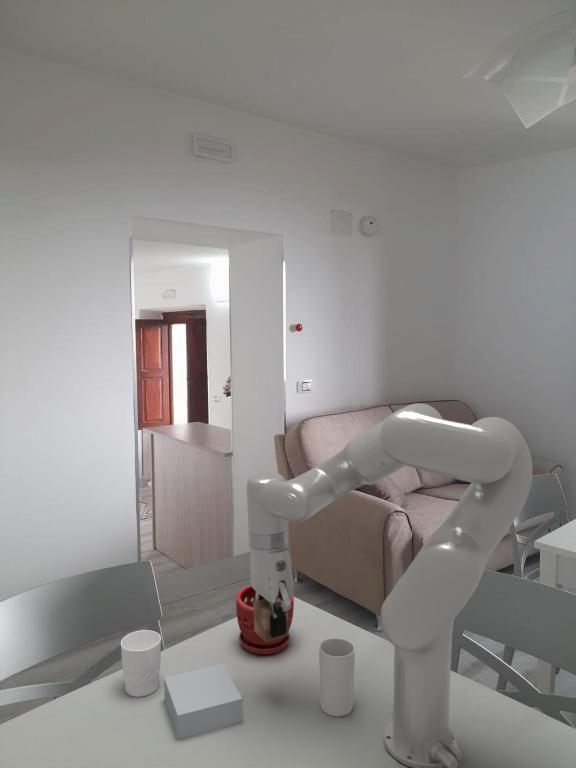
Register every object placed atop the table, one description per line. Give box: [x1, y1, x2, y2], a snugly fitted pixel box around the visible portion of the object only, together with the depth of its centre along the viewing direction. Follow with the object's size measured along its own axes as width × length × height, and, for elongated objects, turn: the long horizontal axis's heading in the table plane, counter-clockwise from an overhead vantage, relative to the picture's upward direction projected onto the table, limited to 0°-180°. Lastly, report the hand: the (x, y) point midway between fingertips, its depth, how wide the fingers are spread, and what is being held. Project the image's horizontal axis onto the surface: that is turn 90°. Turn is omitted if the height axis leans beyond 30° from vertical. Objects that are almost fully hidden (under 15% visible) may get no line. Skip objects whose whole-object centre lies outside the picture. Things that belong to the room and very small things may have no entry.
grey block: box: [163, 663, 244, 741], centre depth 111 cm, size 12×12×5 cm
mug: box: [318, 636, 356, 717], centre depth 114 cm, size 10×7×12 cm, turn 172°
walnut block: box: [253, 597, 290, 643], centre depth 114 cm, size 5×5×6 cm
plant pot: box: [235, 584, 295, 655], centre depth 134 cm, size 13×13×12 cm
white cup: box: [120, 629, 162, 698], centre depth 118 cm, size 8×8×10 cm
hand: (271, 628), depth 114 cm, fingers closed on walnut block, 5 cm apart
